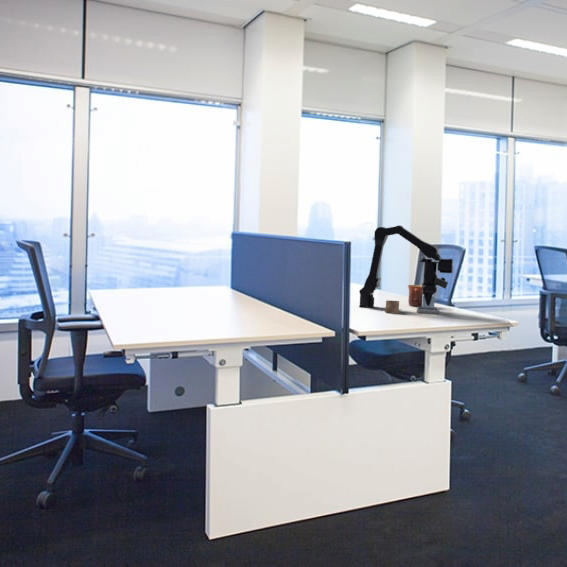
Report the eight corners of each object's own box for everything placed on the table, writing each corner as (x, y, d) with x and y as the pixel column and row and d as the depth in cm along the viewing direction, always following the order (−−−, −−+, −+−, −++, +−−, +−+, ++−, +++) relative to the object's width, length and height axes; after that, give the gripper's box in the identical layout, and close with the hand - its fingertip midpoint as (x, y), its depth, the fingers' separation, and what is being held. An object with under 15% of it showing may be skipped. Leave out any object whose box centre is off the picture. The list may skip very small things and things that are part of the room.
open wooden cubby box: (385, 312, 277) (385, 302, 276) (385, 310, 283) (386, 300, 282) (398, 313, 275) (399, 302, 275) (398, 311, 281) (399, 301, 281)
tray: (417, 312, 279) (417, 309, 279) (416, 309, 289) (417, 306, 289) (438, 314, 277) (439, 311, 277) (437, 311, 287) (438, 307, 287)
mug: (406, 304, 307) (407, 284, 306) (424, 305, 305) (425, 285, 304) (406, 307, 295) (407, 287, 294) (424, 308, 293) (426, 288, 292)
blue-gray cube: (422, 307, 281) (422, 295, 280) (421, 305, 286) (422, 294, 285) (434, 308, 279) (434, 296, 279) (433, 306, 285) (434, 295, 284)
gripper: (448, 274, 270) (446, 308, 272) (446, 271, 288) (444, 303, 290) (423, 273, 272) (421, 307, 274) (422, 270, 290) (421, 301, 292)
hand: (428, 304), depth 283 cm, fingers closed on blue-gray cube, 5 cm apart
